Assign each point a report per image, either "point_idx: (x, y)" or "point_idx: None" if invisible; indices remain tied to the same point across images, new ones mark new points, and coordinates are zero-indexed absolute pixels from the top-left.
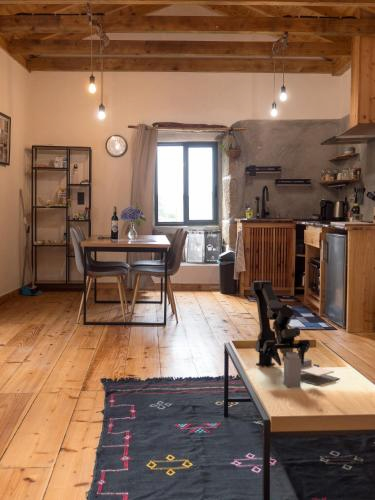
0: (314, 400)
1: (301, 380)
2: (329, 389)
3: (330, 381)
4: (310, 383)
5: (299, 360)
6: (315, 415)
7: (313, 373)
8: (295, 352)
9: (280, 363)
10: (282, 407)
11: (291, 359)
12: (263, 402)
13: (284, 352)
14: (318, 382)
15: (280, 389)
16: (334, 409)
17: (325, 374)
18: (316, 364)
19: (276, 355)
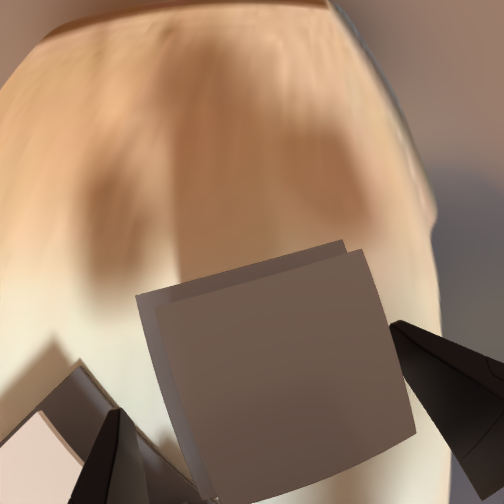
0: (156, 102)
1: (166, 464)
2: (27, 287)
3: (5, 438)
4: (110, 403)
5: (161, 295)
6: (199, 5)
7: (66, 456)
8: (217, 428)
9: (405, 324)
10: (301, 43)
11: (297, 253)
12: (373, 84)
13: None
14: (60, 413)
15: None
16: (117, 42)
17: (3, 447)
18: None
19: (497, 363)
